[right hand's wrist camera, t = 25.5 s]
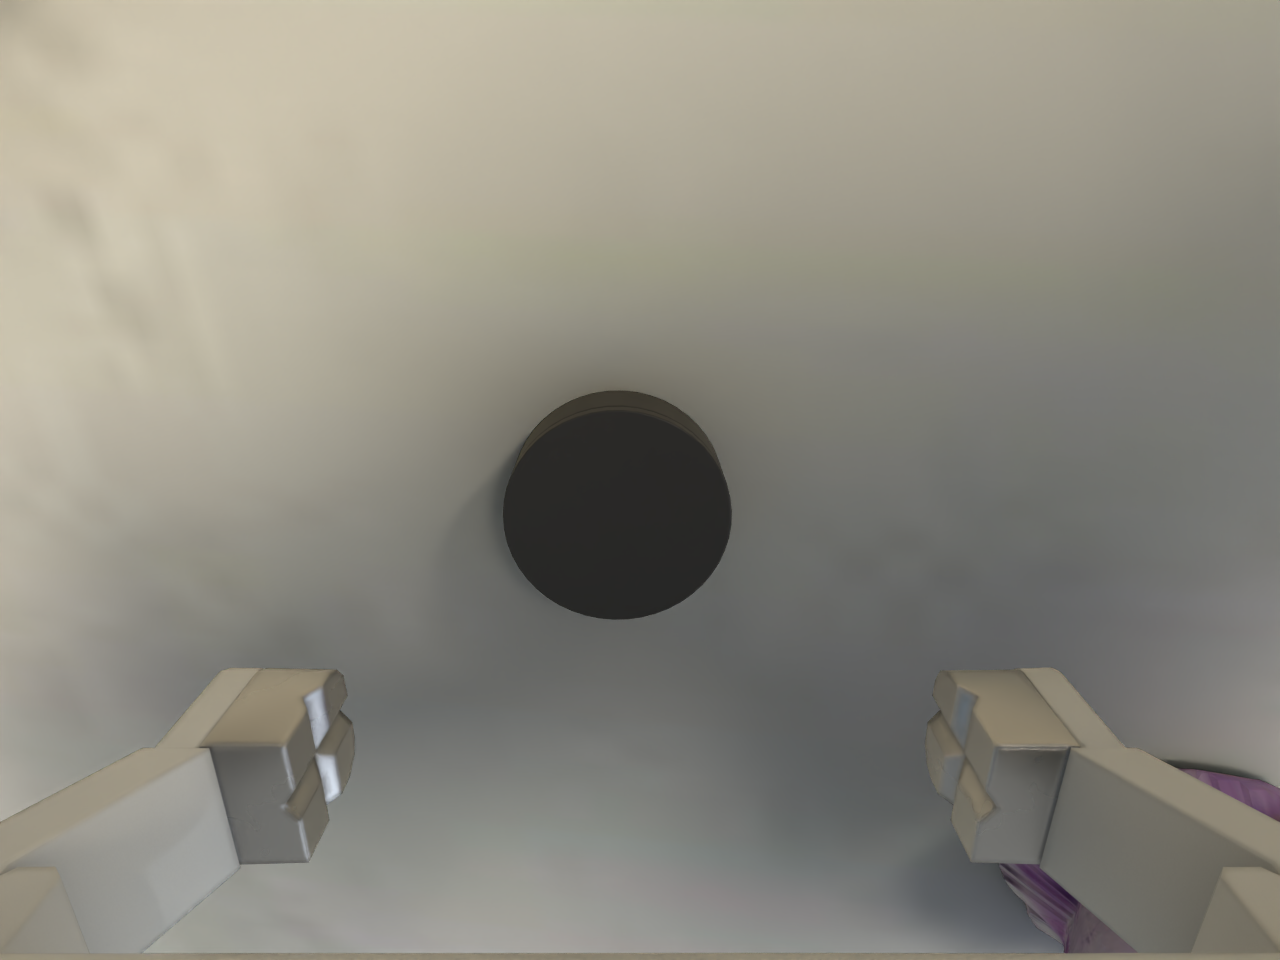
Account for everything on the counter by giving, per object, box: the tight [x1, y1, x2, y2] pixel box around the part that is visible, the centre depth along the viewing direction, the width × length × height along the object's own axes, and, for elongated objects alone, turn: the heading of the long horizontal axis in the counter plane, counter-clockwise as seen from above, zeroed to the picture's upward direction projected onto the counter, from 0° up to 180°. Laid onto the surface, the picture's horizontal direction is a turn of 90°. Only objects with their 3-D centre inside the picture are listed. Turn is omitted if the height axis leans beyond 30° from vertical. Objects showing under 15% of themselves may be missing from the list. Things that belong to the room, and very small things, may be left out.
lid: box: [503, 391, 732, 619], centre depth 19 cm, size 5×5×2 cm
